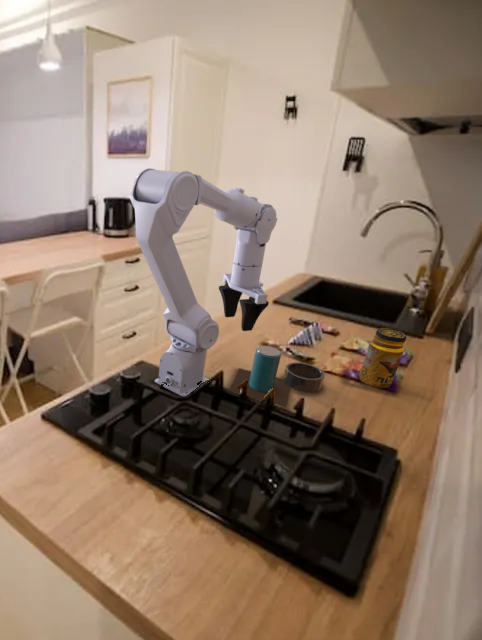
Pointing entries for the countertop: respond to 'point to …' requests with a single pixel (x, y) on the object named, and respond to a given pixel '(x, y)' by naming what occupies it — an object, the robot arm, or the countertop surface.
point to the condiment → (383, 358)
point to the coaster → (279, 389)
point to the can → (264, 368)
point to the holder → (307, 371)
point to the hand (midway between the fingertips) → (237, 323)
